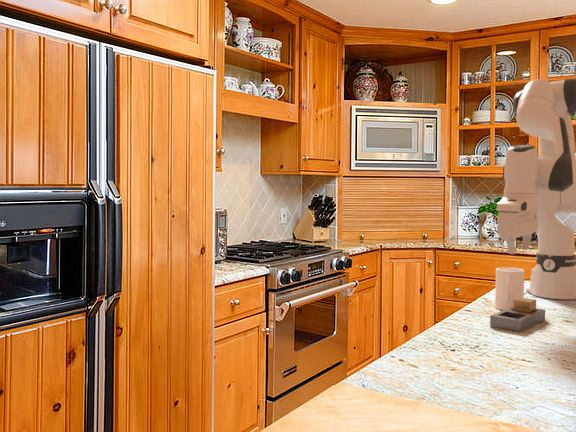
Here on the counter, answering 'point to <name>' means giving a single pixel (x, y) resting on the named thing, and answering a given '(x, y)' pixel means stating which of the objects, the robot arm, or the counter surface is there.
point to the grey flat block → (516, 319)
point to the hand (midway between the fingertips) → (518, 251)
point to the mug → (508, 286)
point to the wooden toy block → (524, 305)
